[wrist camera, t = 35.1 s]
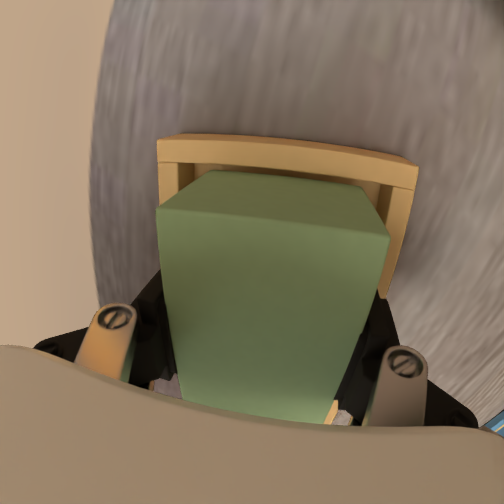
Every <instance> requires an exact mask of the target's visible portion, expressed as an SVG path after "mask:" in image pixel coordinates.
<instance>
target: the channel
mask: <svg viewBox="0 0 504 504" xmlns="http://www.w3.org/2000/svg"><path fill="white" fill-rule="evenodd" d="M157 161H158V182H159V202H160V205H161V204H162V203H164V202H165V201H167V200H168V199H169V198H171V197H172V196H174V195H175V194H176V193H178V192H179V191H181V190H182V189H183V188H185V187H186V186H188V185H189V184H191V183H192V182H194V181H195V180H197V179H198V178H199V177H201V176H202V175H204V174H205V173H207V172H208V171H210V170H223V171H236V172H248V173H259V174H270V175H279V176H288V177H297V178H305V179H313V180H321V181H328V182H335V183H342V184H349V185H355V186H360V187H362V188H363V190H364V192H365V193H366V195H367V196H368V198H369V200H370V201H371V203H372V205H373V206H374V208H375V210H376V211H377V213H378V215H379V217H380V218H381V220H382V222H383V223H384V225H385V227H386V229H387V231H388V232H389V234H390V236H391V241H390V245H389V249H388V253H387V256H386V260H385V264H384V267H383V271H382V274H381V277H380V281H379V284H378V287H377V289H378V292H379V296H380V298H382V299H385V298H386V295H387V292H388V289H389V286H390V283H391V280H392V276H393V273H394V270H395V267H396V263H397V260H398V257H399V253H400V250H401V246H402V242H403V239H404V235H405V231H406V227H407V223H408V219H409V215H410V210H411V206H412V201H413V197H414V190H415V187H416V182H417V177H418V171H419V167H418V166H417V165H415V164H413V163H412V162H410V161H408V160H406V159H405V158H403V157H401V156H396V155H391V154H386V153H381V152H376V151H371V150H365V149H359V148H353V147H347V146H341V145H334V144H327V143H319V142H311V141H303V140H294V139H284V138H273V137H260V136H246V135H226V134H177V135H173V136H169V137H165V138H161V139H158V140H157ZM337 412H338V400H334V402H333V404H332V407H331V409H330V411H329V413H328V415H327V417H326V419H325V421H324V423H323V424H328V425H331V423H332V421H333V419H334V417H335V415H336V414H337Z"/></svg>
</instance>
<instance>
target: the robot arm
mask: <svg viewBox="0 0 504 504" xmlns="http://www.w3.org/2000/svg"><path fill="white" fill-rule="evenodd" d="M174 373H176V374H178V373H177V367H176V362H175V357H174V351H173V346H172V340H171V334H170V328H169V322H168V315H167V308H166V304H165V298H164V291H163V283H162V275H161V269H160V270H159V271H158V272H157V273H156V274H155V276H154V277H153V278H152V279H151V280H150V281H149V283H148V284H147V285H146V286H145V288H144V289H143V290H142V291H141V292H140V294H139V295H138V296H137V297H136V298H135V300H134V301H133V302H132V303H131V305H129V304H127V303H112V304H108V305H106V306H104V307H102V308H100V309H99V310H98V311H97V312H96V314H95V315H94V317H93V319H92V321H91V323H90V326H89V327H87V328H84V329H80V330H76V331H73V332H69V333H66V334H63V335H59V336H55V337H52V338H48V339H45V340H43V341H41V342H39V343H38V344H36V345H35V347H34V348H28V347H23V346H16V345H1V346H0V504H504V437H503V436H501V435H500V434H498V433H496V432H495V431H493V430H491V429H489V428H488V427H486V426H484V425H483V426H482V427H481V428H480V427H478V422H477V419H476V417H475V415H474V414H473V413H472V412H471V411H470V410H469V409H468V408H467V407H465V406H464V405H462V404H461V403H460V402H458V401H457V400H456V399H454V398H453V397H451V396H450V395H449V394H447V393H446V392H445V391H443V390H442V389H440V388H439V387H438V386H436V385H435V384H434V383H432V382H431V381H429V380H428V379H427V377H428V366H427V362H426V360H425V358H424V357H423V356H422V355H421V354H420V353H419V352H418V351H416V350H415V349H413V348H410V347H408V346H402V345H400V343H399V339H398V335H397V332H396V328H395V324H394V321H393V317H392V314H391V311H390V307H389V304H388V301H387V300H386V299H382V298H380V296H379V292H378V289H377V290H376V294H375V297H374V300H373V303H372V306H371V309H370V312H369V315H368V318H367V321H366V323H365V326H364V329H363V332H362V333H361V334H360V335H359V338H358V341H357V343H356V346H355V349H354V351H353V354H352V356H351V359H350V362H349V364H348V367H347V369H346V371H345V374H344V376H343V379H342V381H341V383H340V386H339V388H338V390H337V393H336V395H335V397H334V399H333V400H338V410H346V411H347V412H348V413H349V414H350V415H351V418H350V421H349V424H348V426H343V425H328V424H316V423H306V422H297V421H289V420H281V419H274V418H267V417H261V416H255V415H249V414H244V413H238V412H233V411H228V410H223V409H219V408H214V407H210V406H205V405H201V404H197V403H193V402H189V401H185V400H181V399H178V398H174V397H170V396H167V395H163V394H160V393H156V392H153V389H154V380H156V379H159V378H161V379H165V380H168V381H170V380H171V378H172V376H173V374H174Z"/></svg>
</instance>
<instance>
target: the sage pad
mask: <svg viewBox="0 0 504 504" xmlns="http://www.w3.org/2000/svg"><path fill="white" fill-rule="evenodd" d="M155 214H156V227H157V238H158V248H159V258H160V267H161V275H162V283H163V291H164V298H165V304H166V308H167V315H168V322H169V328H170V334H171V340H172V346H173V351H174V357H175V362H176V367H177V373H178V374H177V375H178V380H179V385H180V389H181V394H182V399H183V400H185V401H189V402H193V403H197V404H201V405H205V406H210V407H214V408H219V409H223V410H228V411H233V412H238V413H244V414H249V415H255V416H261V417H267V418H274V419H281V420H289V421H297V422H306V423H316V424H323V423H324V421H325V419H326V417H327V415H328V413H329V411H330V409H331V407H332V404H333V402H334V400H333V399H334V397H335V395H336V393H337V390H338V388H339V386H340V383H341V381H342V379H343V376H344V374H345V371H346V369H347V367H348V364H349V362H350V359H351V356H352V354H353V351H354V349H355V346H356V343H357V341H358V338H359V335H360V334H361V333H362V332H363V329H364V326H365V323H366V321H367V318H368V315H369V312H370V309H371V306H372V303H373V300H374V297H375V294H376V290H377V287H378V284H379V281H380V277H381V274H382V271H383V267H384V264H385V260H386V256H387V253H388V249H389V245H390V241H391V236H390V234H389V232H388V231H387V229H386V227H385V225H384V223H383V222H382V220H381V218H380V217H379V215H378V213H377V211H376V210H375V208H374V206H373V205H372V203H371V201H370V200H369V198H368V196H367V195H366V193H365V192H364V190H363V188H362V187H360V186H355V185H349V184H342V183H335V182H328V181H321V180H313V179H305V178H297V177H288V176H279V175H270V174H259V173H248V172H236V171H223V170H210V171H208V172H207V173H205V174H204V175H202V176H201V177H199V178H198V179H197V180H195V181H194V182H192V183H191V184H189V185H188V186H186V187H185V188H183V189H182V190H181V191H179V192H178V193H176V194H175V195H174V196H172V197H171V198H169V199H168V200H167V201H165V202H164V203H162V204H161V205H160V206H158V207H157V208H156V211H155Z"/></svg>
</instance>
